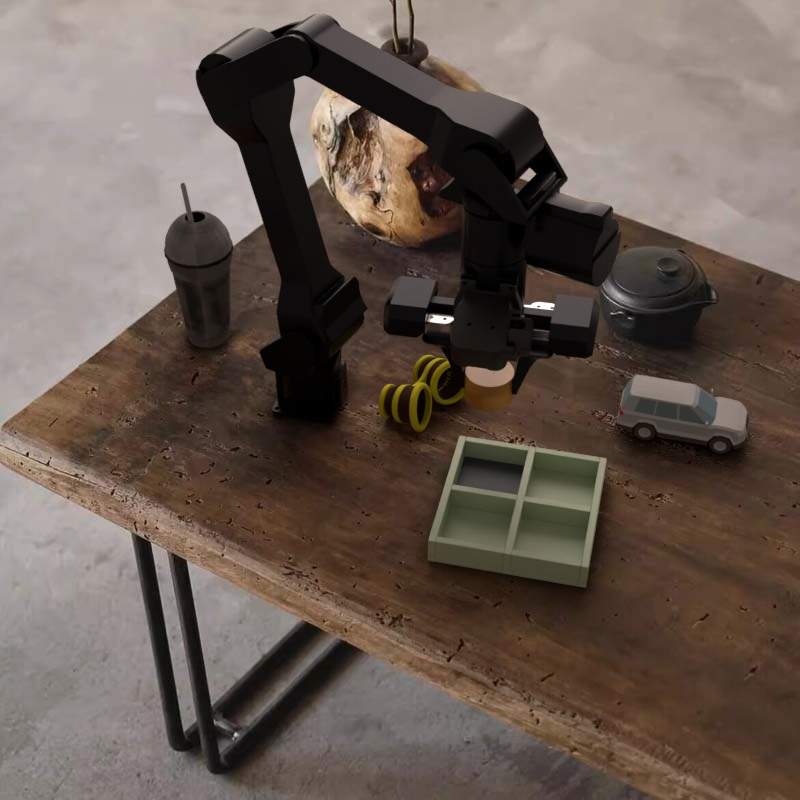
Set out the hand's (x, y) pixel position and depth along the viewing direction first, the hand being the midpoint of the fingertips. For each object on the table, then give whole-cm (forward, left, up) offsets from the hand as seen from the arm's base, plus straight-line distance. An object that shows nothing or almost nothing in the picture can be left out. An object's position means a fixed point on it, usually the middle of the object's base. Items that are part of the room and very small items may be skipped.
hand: (488, 388), depth 123 cm
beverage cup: (-34, +14, -11) cm, 38 cm away
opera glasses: (-8, +8, -11) cm, 15 cm away
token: (0, 0, -1) cm, 1 cm away
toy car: (+18, +10, -11) cm, 23 cm away
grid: (+4, -6, -10) cm, 13 cm away
